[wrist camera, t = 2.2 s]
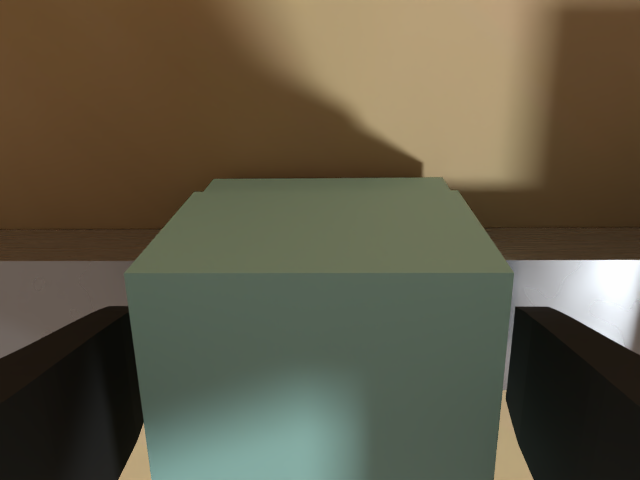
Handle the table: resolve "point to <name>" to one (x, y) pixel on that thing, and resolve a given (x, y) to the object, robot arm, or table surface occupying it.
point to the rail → (127, 244)
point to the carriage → (321, 333)
